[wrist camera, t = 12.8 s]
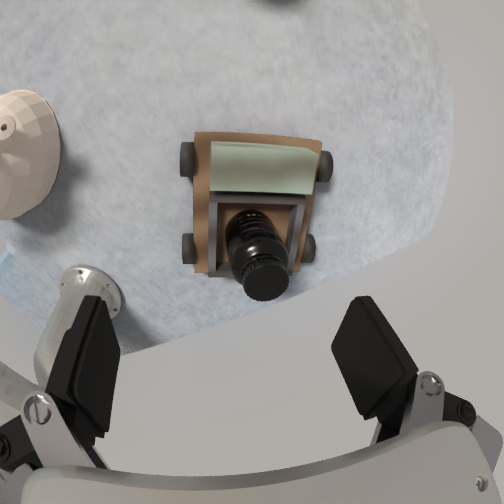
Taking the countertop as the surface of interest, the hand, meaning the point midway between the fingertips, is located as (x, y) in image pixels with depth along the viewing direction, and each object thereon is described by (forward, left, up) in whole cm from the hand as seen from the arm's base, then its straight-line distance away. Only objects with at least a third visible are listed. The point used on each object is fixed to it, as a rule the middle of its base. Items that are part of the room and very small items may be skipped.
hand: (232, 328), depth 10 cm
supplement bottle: (-9, -5, -26) cm, 29 cm away
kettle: (+4, +32, -30) cm, 44 cm away
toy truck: (-6, -6, -30) cm, 31 cm away
